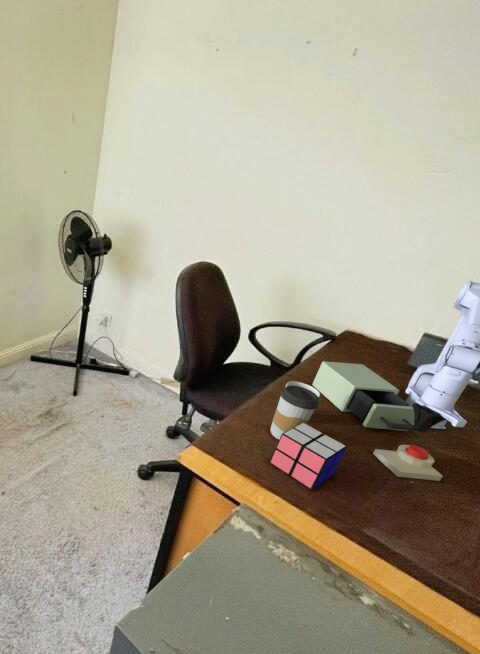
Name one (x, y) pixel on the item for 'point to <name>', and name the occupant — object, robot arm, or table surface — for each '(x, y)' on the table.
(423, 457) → the button
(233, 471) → the table surface
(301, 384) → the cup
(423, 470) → the control block
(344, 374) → the mint drawer box
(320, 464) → the puzzle cube
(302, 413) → the coffee cup
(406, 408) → the pull-out drawer
